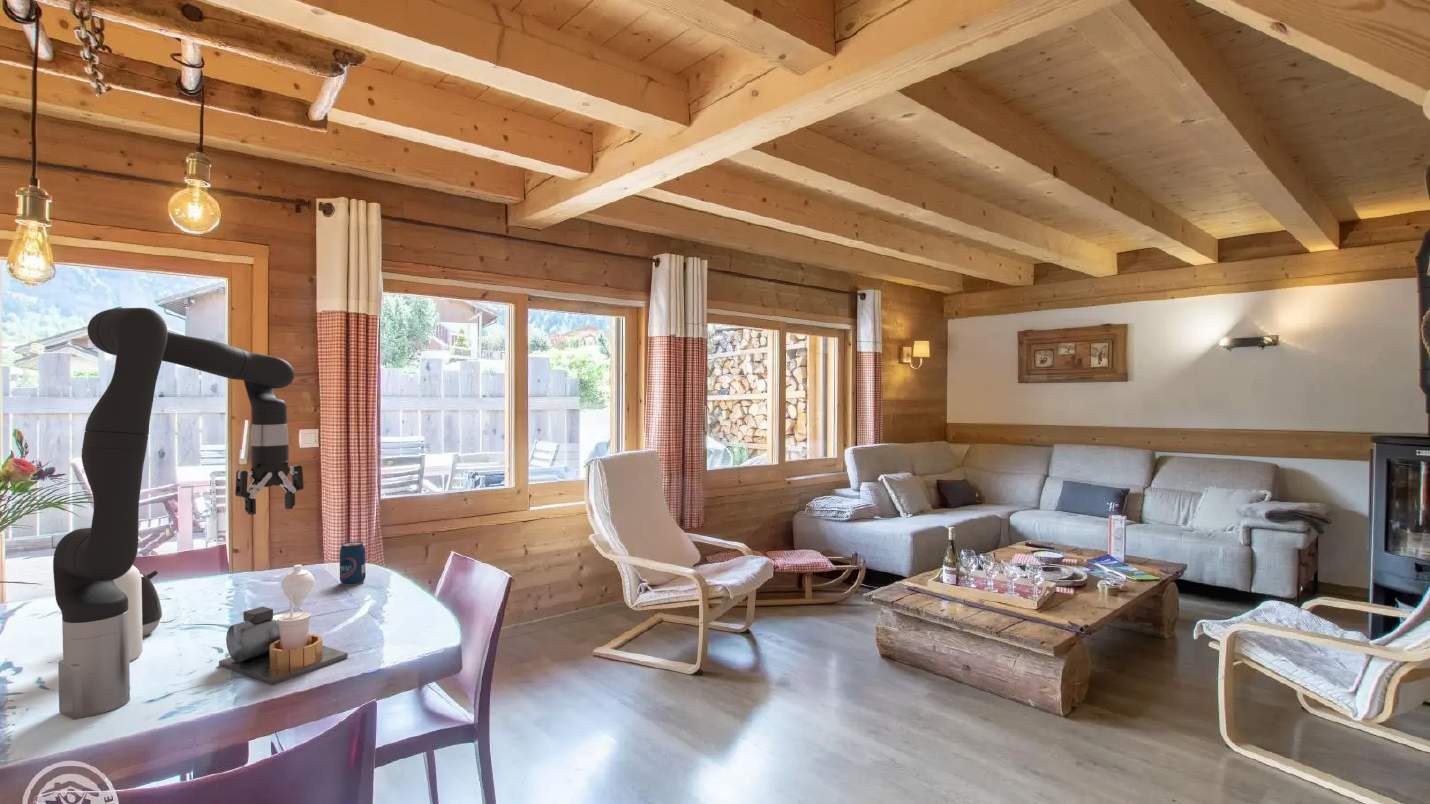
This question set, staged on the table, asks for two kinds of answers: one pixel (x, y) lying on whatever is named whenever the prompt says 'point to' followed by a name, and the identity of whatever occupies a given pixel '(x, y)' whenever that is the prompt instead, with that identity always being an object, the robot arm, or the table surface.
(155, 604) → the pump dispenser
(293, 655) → the motor
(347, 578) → the soda can
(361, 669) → the table surface
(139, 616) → the alcohol
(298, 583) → the spinning top
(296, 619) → the smoothie
